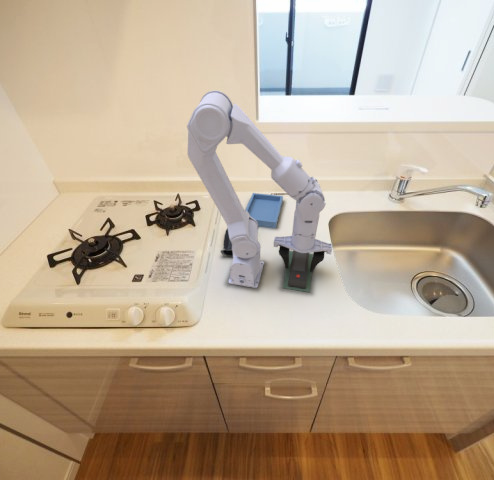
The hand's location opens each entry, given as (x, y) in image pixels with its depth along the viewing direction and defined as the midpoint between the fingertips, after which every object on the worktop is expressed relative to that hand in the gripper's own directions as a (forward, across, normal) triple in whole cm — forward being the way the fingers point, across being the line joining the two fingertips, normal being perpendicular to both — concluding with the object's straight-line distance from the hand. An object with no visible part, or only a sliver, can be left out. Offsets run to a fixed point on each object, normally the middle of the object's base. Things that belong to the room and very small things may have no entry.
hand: (299, 267), depth 71 cm
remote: (+1, 0, 0) cm, 1 cm away
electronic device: (+2, +20, -9) cm, 21 cm away
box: (+1, +15, -26) cm, 30 cm away
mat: (+1, 0, 0) cm, 1 cm away
